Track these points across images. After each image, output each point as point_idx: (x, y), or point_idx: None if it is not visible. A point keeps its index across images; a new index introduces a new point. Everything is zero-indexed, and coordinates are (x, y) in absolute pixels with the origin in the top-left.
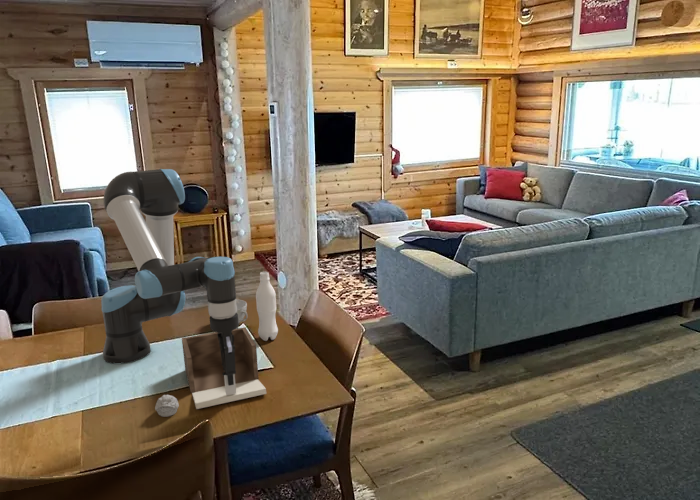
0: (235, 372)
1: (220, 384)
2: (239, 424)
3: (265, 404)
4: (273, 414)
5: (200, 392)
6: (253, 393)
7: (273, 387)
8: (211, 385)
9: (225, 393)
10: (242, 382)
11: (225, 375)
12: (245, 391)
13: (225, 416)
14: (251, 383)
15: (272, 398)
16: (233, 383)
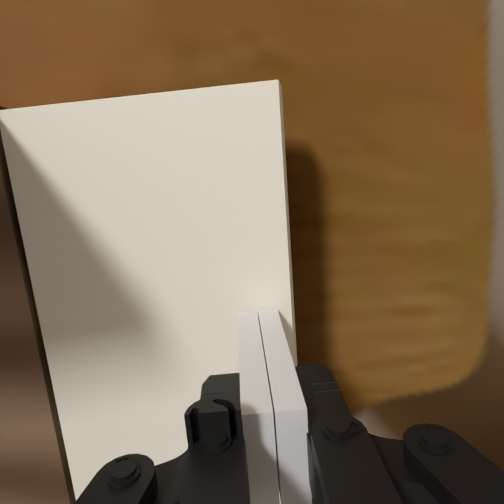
0: (465, 441)
1: (13, 371)
2: (455, 287)
3: (310, 113)
4: (442, 86)
5: None
6: (286, 185)
7: (101, 13)
8: (11, 422)
9: (210, 366)
10: (21, 229)
11: (309, 487)
12: (250, 240)
13: (348, 348)
14: (78, 171)
15: (253, 53)
16: (329, 372)
